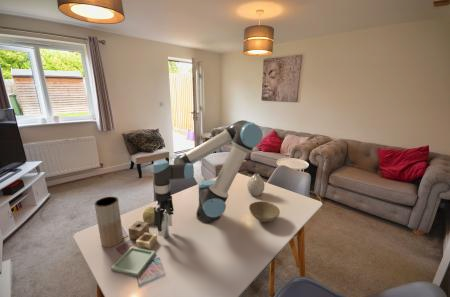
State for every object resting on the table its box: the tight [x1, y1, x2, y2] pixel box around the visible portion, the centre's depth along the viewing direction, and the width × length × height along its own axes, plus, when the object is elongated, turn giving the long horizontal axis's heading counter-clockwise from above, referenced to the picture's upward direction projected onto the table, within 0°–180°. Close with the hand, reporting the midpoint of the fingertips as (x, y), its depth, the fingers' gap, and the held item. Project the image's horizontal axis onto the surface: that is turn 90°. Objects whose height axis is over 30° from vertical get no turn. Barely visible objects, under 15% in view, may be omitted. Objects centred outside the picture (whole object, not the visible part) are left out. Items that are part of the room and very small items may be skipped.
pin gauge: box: [162, 210, 170, 239], centre depth 106 cm, size 3×3×14 cm
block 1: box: [128, 220, 150, 241], centre depth 107 cm, size 7×7×6 cm
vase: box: [246, 173, 265, 197], centre depth 153 cm, size 13×13×17 cm
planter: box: [94, 195, 124, 248], centre depth 101 cm, size 10×10×23 cm
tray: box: [110, 245, 156, 277], centre depth 91 cm, size 13×13×2 cm
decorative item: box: [142, 206, 155, 225], centre depth 121 cm, size 10×10×10 cm
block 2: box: [135, 232, 158, 250], centre depth 101 cm, size 7×7×4 cm
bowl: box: [248, 200, 281, 223], centre depth 122 cm, size 18×18×8 cm
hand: (165, 230), depth 107 cm, fingers open, 8 cm apart
